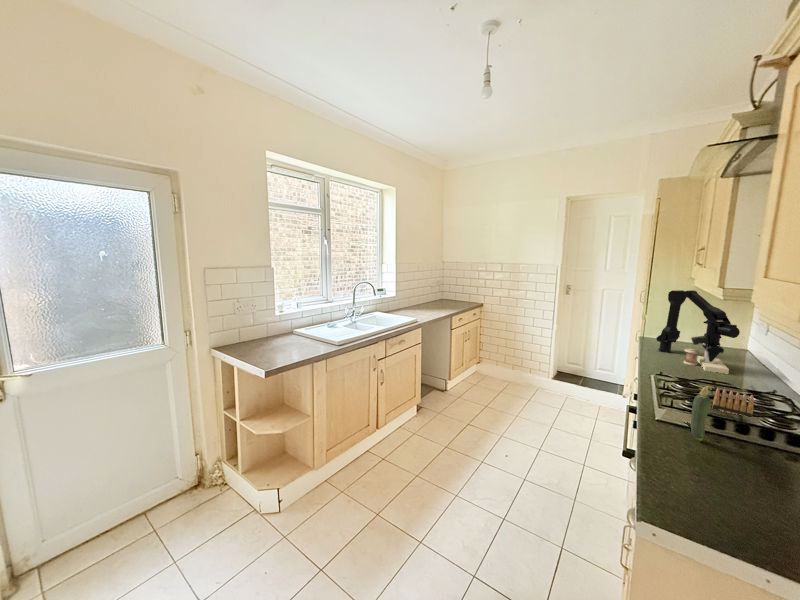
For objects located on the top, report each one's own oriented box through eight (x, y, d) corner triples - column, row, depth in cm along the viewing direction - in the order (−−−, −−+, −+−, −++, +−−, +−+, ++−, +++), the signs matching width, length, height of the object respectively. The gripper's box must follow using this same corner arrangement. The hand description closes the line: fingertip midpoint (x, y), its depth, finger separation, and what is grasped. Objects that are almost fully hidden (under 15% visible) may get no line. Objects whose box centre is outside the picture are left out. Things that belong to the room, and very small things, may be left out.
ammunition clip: (750, 425, 118) (756, 394, 116) (751, 427, 117) (756, 396, 115) (710, 414, 125) (715, 386, 124) (710, 416, 124) (714, 387, 122)
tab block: (713, 362, 177) (714, 350, 176) (715, 364, 174) (716, 352, 173) (703, 361, 180) (705, 349, 179) (705, 363, 176) (706, 351, 175)
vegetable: (685, 437, 111) (692, 383, 108) (692, 434, 112) (699, 380, 109) (701, 444, 107) (709, 388, 103) (708, 441, 108) (716, 385, 105)
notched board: (697, 360, 187) (697, 355, 187) (718, 363, 182) (718, 358, 182) (704, 370, 171) (705, 366, 170) (728, 374, 166) (728, 369, 165)
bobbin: (682, 361, 186) (683, 348, 184) (696, 363, 182) (697, 349, 181) (684, 364, 181) (685, 350, 179) (698, 366, 177) (700, 352, 176)
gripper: (690, 327, 186) (687, 353, 189) (697, 334, 171) (693, 362, 173) (716, 330, 180) (712, 356, 183) (726, 337, 165) (721, 366, 167)
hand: (709, 360), depth 177 cm, fingers closed on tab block, 4 cm apart
